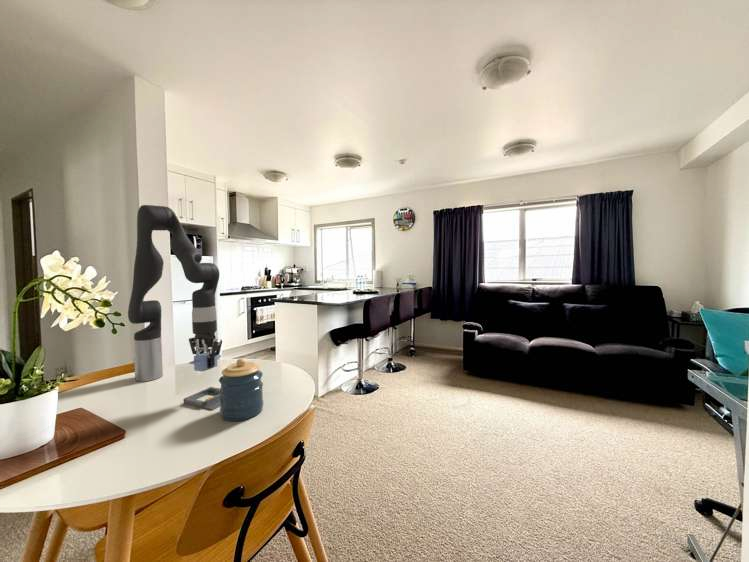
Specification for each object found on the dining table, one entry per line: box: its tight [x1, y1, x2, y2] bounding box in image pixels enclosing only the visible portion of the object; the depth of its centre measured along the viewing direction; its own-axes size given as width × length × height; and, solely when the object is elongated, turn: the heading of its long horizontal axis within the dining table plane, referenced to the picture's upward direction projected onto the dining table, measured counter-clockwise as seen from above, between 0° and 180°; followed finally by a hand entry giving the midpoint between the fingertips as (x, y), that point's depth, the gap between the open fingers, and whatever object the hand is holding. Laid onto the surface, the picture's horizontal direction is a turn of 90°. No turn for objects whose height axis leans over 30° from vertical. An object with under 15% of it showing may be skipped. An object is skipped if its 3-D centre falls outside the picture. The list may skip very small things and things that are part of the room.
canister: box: [218, 358, 264, 422], centre depth 98 cm, size 13×13×18 cm
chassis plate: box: [183, 386, 221, 411], centre depth 107 cm, size 14×11×2 cm
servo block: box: [188, 351, 222, 373], centre depth 107 cm, size 4×10×6 cm, turn 159°
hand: (206, 366), depth 107 cm, fingers closed on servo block, 4 cm apart
